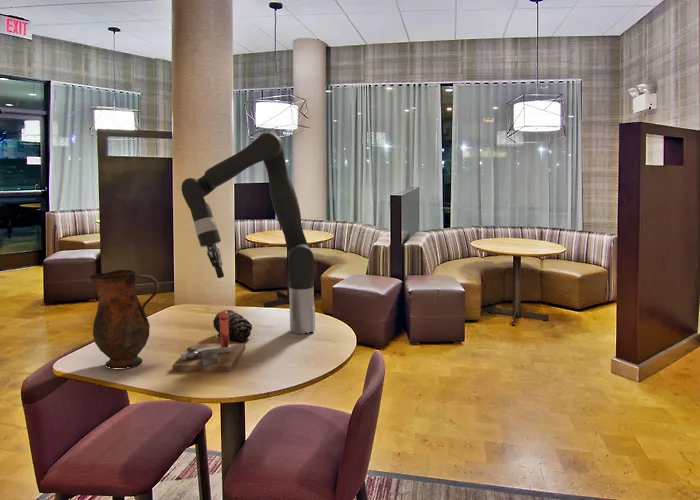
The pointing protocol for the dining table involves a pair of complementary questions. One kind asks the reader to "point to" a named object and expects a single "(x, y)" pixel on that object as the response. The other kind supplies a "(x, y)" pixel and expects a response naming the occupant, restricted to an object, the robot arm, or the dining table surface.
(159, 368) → the dining table surface
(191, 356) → the lever
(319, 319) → the dining table surface
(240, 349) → the base
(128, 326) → the pitcher
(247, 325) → the pine cone
